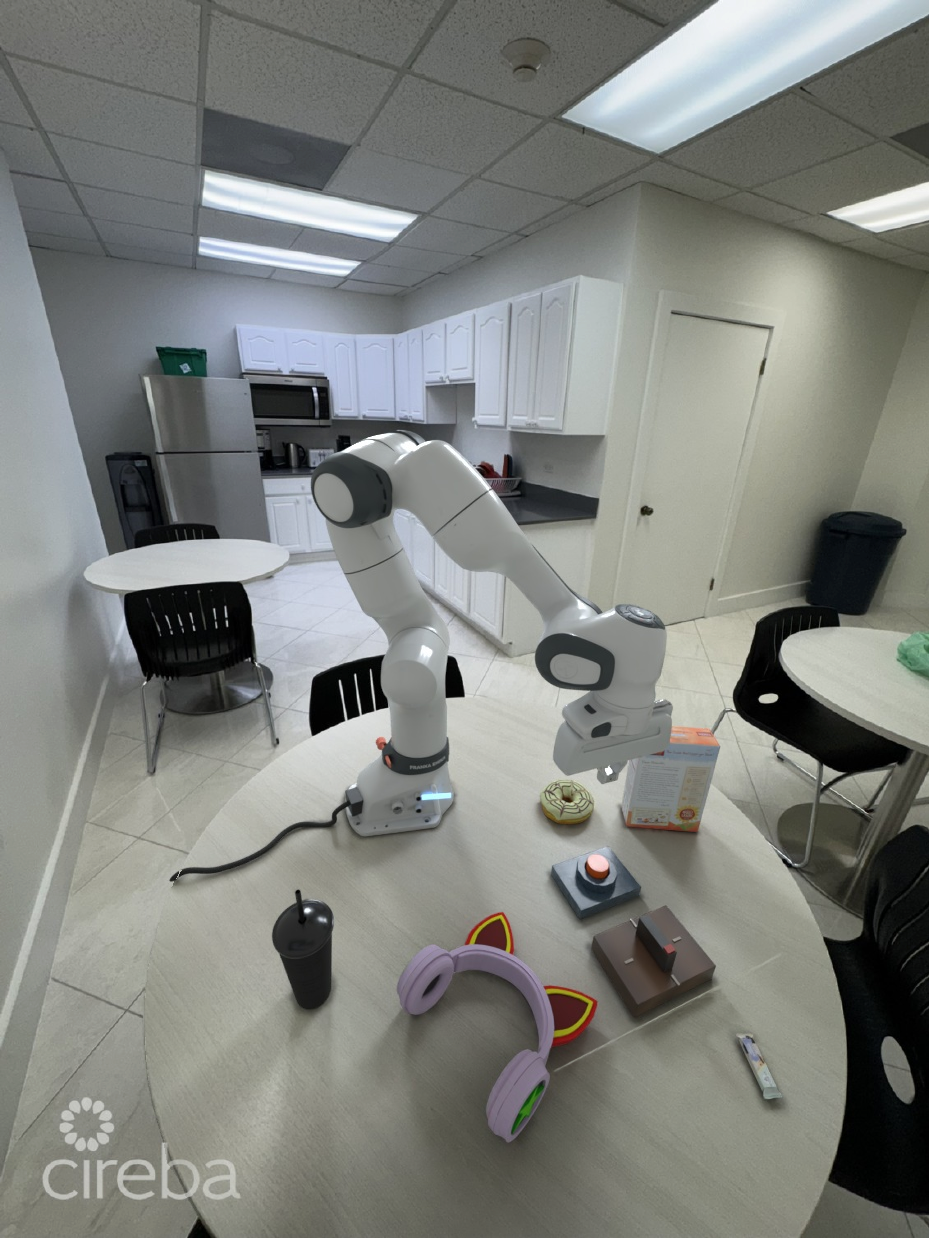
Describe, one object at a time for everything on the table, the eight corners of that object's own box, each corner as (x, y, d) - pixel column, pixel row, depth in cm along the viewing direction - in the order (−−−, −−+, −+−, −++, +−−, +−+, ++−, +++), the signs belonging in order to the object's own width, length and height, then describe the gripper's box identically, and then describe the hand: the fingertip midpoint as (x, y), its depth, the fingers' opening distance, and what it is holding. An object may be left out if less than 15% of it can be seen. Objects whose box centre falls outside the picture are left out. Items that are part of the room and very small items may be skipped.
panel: (634, 1019, 67) (638, 1005, 65) (590, 947, 75) (593, 934, 74) (712, 979, 71) (717, 965, 70) (662, 917, 80) (666, 903, 79)
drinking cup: (311, 1034, 64) (294, 933, 56) (273, 999, 68) (251, 900, 60) (353, 981, 70) (342, 883, 62) (315, 952, 74) (300, 855, 66)
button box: (579, 919, 79) (582, 902, 78) (550, 874, 87) (552, 857, 85) (639, 895, 83) (643, 879, 82) (606, 854, 91) (609, 838, 90)
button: (594, 882, 82) (595, 874, 81) (581, 864, 85) (583, 857, 84) (612, 875, 83) (613, 867, 82) (599, 858, 86) (600, 851, 85)
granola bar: (782, 1101, 59) (784, 1096, 58) (763, 1101, 59) (765, 1096, 58) (750, 1035, 65) (752, 1030, 65) (733, 1035, 65) (735, 1030, 65)
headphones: (389, 977, 63) (495, 873, 75) (399, 1015, 68) (498, 912, 80) (501, 1129, 50) (609, 974, 62) (504, 1163, 55) (604, 1013, 66)
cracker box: (688, 810, 101) (710, 727, 93) (698, 834, 96) (723, 747, 88) (619, 804, 103) (635, 721, 94) (625, 827, 97) (642, 740, 89)
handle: (635, 933, 74) (639, 916, 73) (643, 929, 75) (648, 912, 73) (663, 972, 69) (668, 955, 68) (672, 968, 70) (677, 951, 68)
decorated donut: (530, 798, 104) (531, 784, 102) (572, 784, 108) (574, 771, 106) (557, 834, 95) (559, 820, 94) (602, 818, 99) (605, 804, 98)
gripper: (660, 687, 81) (644, 754, 87) (553, 709, 74) (543, 780, 80) (689, 708, 76) (670, 778, 81) (576, 733, 69) (564, 808, 74)
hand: (606, 779), depth 80 cm, fingers closed
